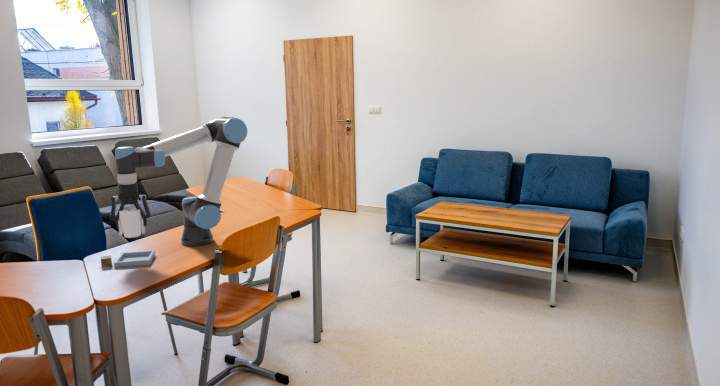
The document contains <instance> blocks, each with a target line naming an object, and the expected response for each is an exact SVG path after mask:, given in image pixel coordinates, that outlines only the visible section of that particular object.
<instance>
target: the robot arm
mask: <svg viewBox="0 0 720 386" xmlns="http://www.w3.org/2000/svg"><path fill="white" fill-rule="evenodd" d="M247 136H248V127H247V125H246V123H245V122H244V121H243V119H240V118H238V117H235V116H229V117H228V116H221V117H217V118H215V119H213V120H210V121H208V122H205V123H203V124H201V126H200V127H197V128H195V129H192V130H189V131H186V132H184V133H183V132H182V133H180V134H177V135H174V136H170V137H168V138H166V139H163V140H160V141H157V142H153V143H151V144H148V145H145V146H139V147H136V148H135V147H134V146H118V147H116V148H115V150H114V152H115V153H114V155H115V157H114V159H115V165H116V166H115V167H116V175H117V178H116V179H117V183H118V184H117V188H118V195H113V196H111V209H110V220H114V221H115V227H116V228H118V234H119V236H123V235H124V233H123V229H122V226H121V222H120V218H119V211H123V208H125V206H126V205H127V206H128V205H133V207H136V208H137V210H139V209H140V213H141V216H142V219H141V235H145V233H146V227H147V225H148V218H150V217H151V216H152V214H151V211H150V210H151V209H150V207H149V204H148V201H147V195H146V194H140V192H139V188H138V187H139V186H138V183H137V182H138V177H137V175H138V174H137V169H142V168H143V169H146V168H147V169H148V168H159V167H163V166H165V163H166V157H168V156H170V155H173V154H176V153H180V152H182V151H185V150H188V149H191V148H194V147H196V146H199V145H201V144H204V143H213V142H215V144H216V146H215V150H214V152H213V156H212V159H211V162H210V166H209V169H208V172H207V175H206V179H205V182H204V184H203V185H204V186H203V187H202V192H201V193H200V194H199V195H197V196H188V197H184V198H182V200H181V207H182V215H183V216H182V218H183V219H182V220H183V231H182V234H181V239H180V240H181V245H183V246H186V247H198V246H200V247H201V246H204V245H208V243H209V244H211V243H213V242H214V236H213V233H212V231H211V229H213V228H215V227H216V226H217V225H219V223H220V222H221V219H222V212H221V211H220V210H221V206H222V201H221V195H222V192H223V189H224V186H225V183H226V179H227V178H228V177H227V176H228V173H229V171H230V167H231V164H232V161H233V157H234V154H235V151H238V150H239V149H240V146H241V144H242V142H243V141H245V140H246V138H247ZM139 198H140V200H141V202H142V205H143V208H142V207H141V205H140V203H139V201H138V200H139ZM118 200H120V201H121V203H120V206H119V208H118V211H117V203H118V202H117V201H118ZM144 210H145V212H144ZM116 211H117V213H116ZM210 242H211V243H210Z"/></svg>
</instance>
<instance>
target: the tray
mask: <svg viewBox="0 0 720 386" xmlns="http://www.w3.org/2000/svg"><path fill="white" fill-rule="evenodd" d="M155 257H156V251H155V249H154V250H143V251H129V252H128V251H127V252H121V253H120V254H119V256H118V257H116V259H115V261H114V262H113V268H114V269H122V268H123V269H124V268H125V269H126V268H133V267H134V268H135V267H136V268H137V267H148V266H150V265H151V264H152V262H153V260H154V259H155Z"/></svg>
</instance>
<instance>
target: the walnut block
mask: <svg viewBox="0 0 720 386" xmlns="http://www.w3.org/2000/svg"><path fill="white" fill-rule="evenodd" d="M112 263H113V261H112V255H105V256H104V255H103V256H100V266H101V269H107V268H112V267H113V264H112ZM106 267H107V268H106Z"/></svg>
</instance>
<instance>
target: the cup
mask: <svg viewBox="0 0 720 386" xmlns="http://www.w3.org/2000/svg"><path fill="white" fill-rule="evenodd" d="M118 211H119V210H118ZM119 219H120V222H121V226H122V231H123V236H124V238H128V239H131V238H139V237H140V236H141V235H142V225H141V219H142V216H141V213H140V209H139V210H137V208H136V207H135V206H129V207H124V208H123V211H119Z"/></svg>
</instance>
